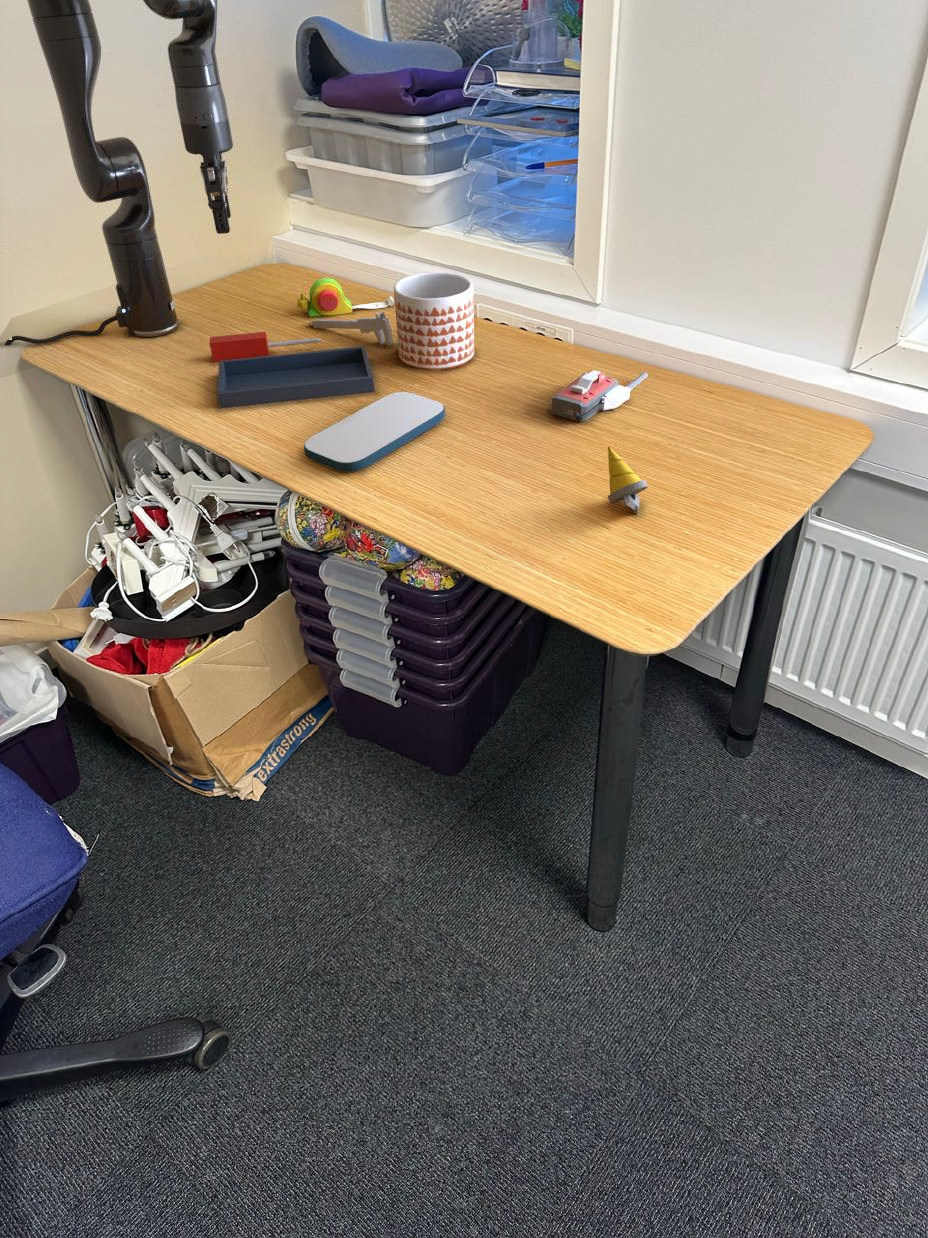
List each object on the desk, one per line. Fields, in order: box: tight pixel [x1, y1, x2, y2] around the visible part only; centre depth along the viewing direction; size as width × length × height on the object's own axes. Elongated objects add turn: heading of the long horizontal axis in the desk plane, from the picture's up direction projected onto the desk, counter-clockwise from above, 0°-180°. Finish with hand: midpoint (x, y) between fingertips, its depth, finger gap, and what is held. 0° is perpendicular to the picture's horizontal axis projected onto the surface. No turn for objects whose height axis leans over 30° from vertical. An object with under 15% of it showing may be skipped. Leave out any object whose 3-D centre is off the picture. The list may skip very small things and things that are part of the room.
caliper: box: [308, 311, 393, 347], centre depth 164 cm, size 20×1×6 cm, turn 55°
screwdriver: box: [208, 331, 323, 364], centre depth 158 cm, size 20×3×4 cm, turn 101°
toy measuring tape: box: [296, 277, 395, 317], centre depth 174 cm, size 6×20×7 cm, turn 104°
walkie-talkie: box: [550, 369, 648, 423], centre depth 141 cm, size 9×4×20 cm
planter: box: [393, 271, 475, 371], centre depth 153 cm, size 14×14×13 cm
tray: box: [216, 345, 376, 409], centre depth 149 cm, size 26×14×3 cm, turn 101°
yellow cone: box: [607, 446, 649, 515], centre depth 116 cm, size 5×5×10 cm
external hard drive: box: [303, 391, 446, 473], centre depth 134 cm, size 24×12×2 cm, turn 142°
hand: (224, 225), depth 147 cm, fingers open, 8 cm apart
